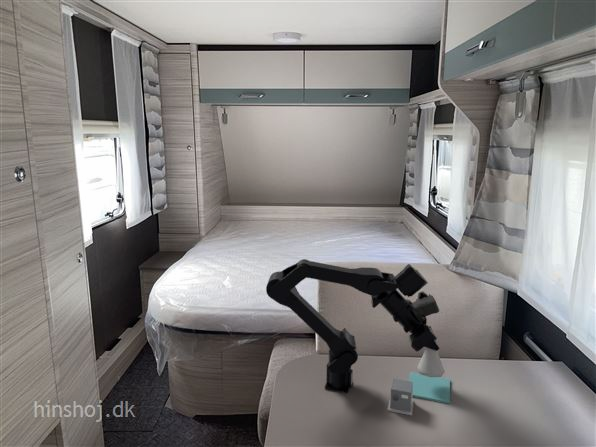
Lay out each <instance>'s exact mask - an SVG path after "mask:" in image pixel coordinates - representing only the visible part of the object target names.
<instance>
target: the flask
mask: <svg viewBox="0 0 596 447" xmlns="http://www.w3.org/2000/svg"><path fill="white" fill-rule="evenodd" d="M434 340H435V342H436V343H437V344H438V341H439V338H438V336H437V335H435V338H434ZM424 349H425V350H424V351H423V354H422V357H421V359H420V361H419V362H418V365H417V367H416V369H417V371H418V374H421V375H424V376H428V377H441V378H442V376H443V375H444V373H445V369H444V366H443V363H442V360H441V357H440V354H439V350H437V351H435V350H432V349H430V348H427V347H425V348H424Z"/></svg>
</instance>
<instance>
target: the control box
mask: <svg viewBox="0 0 596 447" xmlns="http://www.w3.org/2000/svg"><path fill="white" fill-rule="evenodd" d="M413 398H414V397H413V382H411V381H409V380H404V379H398V378H394V377H393V378H392V384H391V387H390V397H389V402H388V406H387V411H388V412H393V413H398V414H402V415H403V414H404V415H407V416H412V415H413V409H414V399H413Z"/></svg>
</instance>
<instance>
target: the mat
mask: <svg viewBox="0 0 596 447" xmlns="http://www.w3.org/2000/svg"><path fill="white" fill-rule="evenodd" d="M408 381H411V382H413V398H416V399H422V400H426V401H427V400H428V401H434V402H439V403H443V404H449V405H450V404H451V379H450V378H447V377H442V376H441V377H428V376H424V375H421V374H420V373H417V372H416V373H415V372H412V371H411V372H409V378H408Z"/></svg>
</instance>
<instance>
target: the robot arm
mask: <svg viewBox="0 0 596 447" xmlns="http://www.w3.org/2000/svg"><path fill="white" fill-rule="evenodd" d="M305 279H311V280H318V281H322V282H328V283H333V284H337V285H344V286H348V287H350V288H353V289H355V290H357V291H358V292H361V293H363V294H366V295H368V296H370V297H371V300H370V304H371V307H372V308H373V309H375V308H376V307H377V306H379V305H380V306H382V308H383V309H384V310H386V312H387V313H388V314H389V315H390V316H392V319H393V321H394V322H395V323H398V324H399V325H400V326H401V327H402V329H403V331H404V332H405V333H406V334H407V333H410V335H409V336H408V337H409V338H408V341H409V344H410V347H411V348H412V349H413V350H414V351H415V352H416V353H417V352H419V351H421V350H422V349H423V348H426V347H427V348H430V349H432V350H435V351H437V350H438V351H439V350H440V346H439V345H438V342H437V343H436V342H435V340H434V338H435V336H436V335H435V333H434V330H433V329H432V326H431V325H427V320H428V319H427V317H428V316H431V315H433V314H434V315H435V314H438V313H439V312H440V309H439V306H438V303H437V300H436V299H435V297H434V296H433V295H432V294H429V293H428V294H427V293H426V292H425V291H424V290H423V291H420V290H422V289H423V288H424V287H425V286H426V285H427V284H428V281H427V280H426V278H425V277H424V276H423V274H422V273H420V271H419V270H418V269H416V268H415V267H414V266H413V265H412V264H410V263H408V264H407V265H406V266H405V267H404V268H403V269H402V270H400V272H398V273H397V274H396V275H394V274H393V273H389V272H385V271H384V272H383V271H381V270H380V269H378V268H376V267H359V268H358V267H357V268H348V267H344V266H337V265H334V264H333V265H332V264H327V263H323V262H316V261H312V260H309V259H304V258H303V259H301V260H299V261H298V262H297V263H294V264H292V265H289V266H287V267H286V268H284V269H283V270H281V271H274V272H273V273H271V275H270V276H269V278H268V281H267V284H266V288H265V291H266V295H267V296H268V297H269V298H270V299H271V300H273V301H274V302H276V303H278V304H279V305H282V306H284V307H287V308H288V309H290V310H291V311H292V312H293V313H294V314H295V315H297V317H299V318H300V320H302V321H303V323H305V324H306V325H307V326H308V327H309V328H310V329H311V330H312V331H313V332H314V333H315V334H316V335H317V336H318V337H319V338H321V340H323V341H324V342H325V343H326V345H327V347H328V363H327V364H326V379H325V380H326V382H325V385H324V389H325V390H330V391H335V392H340V393H344V394H347V393H349V391H350V388H351V387H352V385H353V383H354V382H353V380H354V376H353V375H354V370H353V369H352V366H353V365H354V364H356V362H357V361H358V358H359V355H358V354H359V352H358V349H357V348H358V347H357V342H356V339H355V336H354V335H352V334H351V333H350V332H349V331H348V330H347V328H345V327H344V328H343V329H342V330H339V329H337V328H335V327H334V326H333V325H332V324H331V323H330V322H329V321H328V320H327V318H325V317H324V316H323V315H322V314H321V313H320V312H318V310H316V308H314V307H313V306H312V304H310V303H309V302H308V301H307V300H306V299H305V298H304V297H303V296H302V295H301V294H300V293H299V291H298V289H297V287H296V286H297V285H299V284H300V283H301V282H302V281H304V280H305ZM399 291H400V292H399ZM419 291H420V292H419ZM416 293H417V299H415V301H413V302H412V301H411V300H410V299H406V298H405V297H406V296H407V297H408V298H410V297H413V296H414V295H416Z"/></svg>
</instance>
